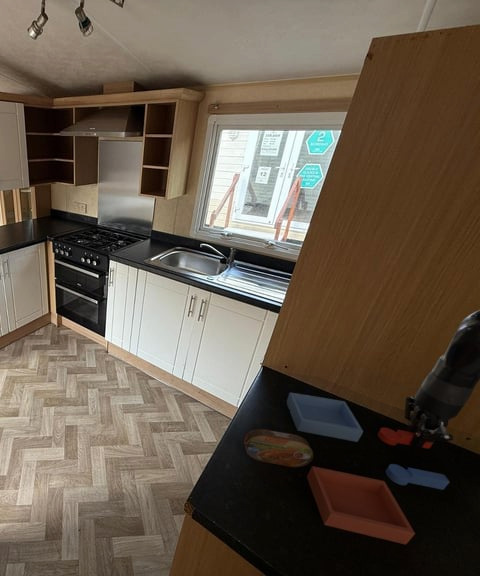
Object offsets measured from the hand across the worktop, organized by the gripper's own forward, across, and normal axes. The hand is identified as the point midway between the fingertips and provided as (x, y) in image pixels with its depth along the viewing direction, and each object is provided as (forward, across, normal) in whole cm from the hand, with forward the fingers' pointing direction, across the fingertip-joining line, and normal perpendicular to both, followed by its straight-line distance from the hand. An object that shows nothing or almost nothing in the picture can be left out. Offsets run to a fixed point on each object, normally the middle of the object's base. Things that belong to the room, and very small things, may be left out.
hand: (411, 441), depth 82 cm
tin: (+1, -13, +36) cm, 39 cm away
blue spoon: (+1, -11, +5) cm, 12 cm away
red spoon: (+1, 0, +2) cm, 2 cm away
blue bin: (+1, +3, +20) cm, 21 cm away
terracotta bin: (+1, -22, +22) cm, 31 cm away
